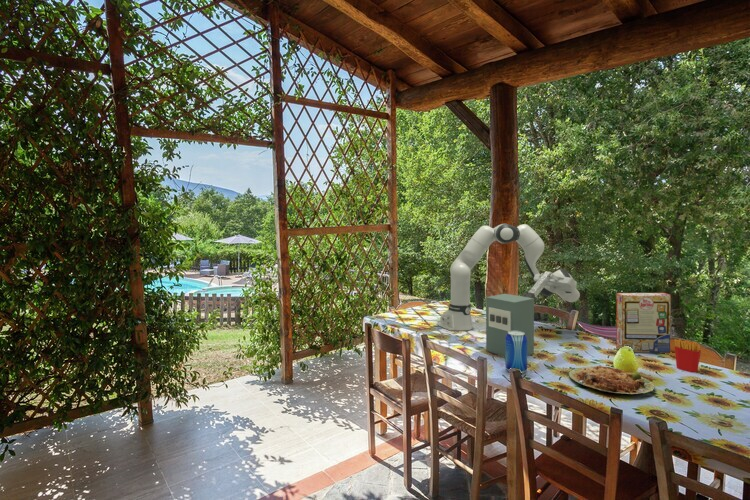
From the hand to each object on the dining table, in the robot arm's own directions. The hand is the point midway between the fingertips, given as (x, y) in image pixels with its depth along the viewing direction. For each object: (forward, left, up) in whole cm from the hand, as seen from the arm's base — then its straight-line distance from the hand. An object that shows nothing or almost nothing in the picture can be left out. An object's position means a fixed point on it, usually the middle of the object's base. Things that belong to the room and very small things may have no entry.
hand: (546, 274), depth 194 cm
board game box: (+36, +20, -34) cm, 54 cm away
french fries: (+56, +9, -34) cm, 66 cm away
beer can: (+16, -46, -34) cm, 60 cm away
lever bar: (0, -6, -7) cm, 9 cm away
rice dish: (+44, -28, -35) cm, 63 cm away
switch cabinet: (0, -29, -34) cm, 45 cm away
